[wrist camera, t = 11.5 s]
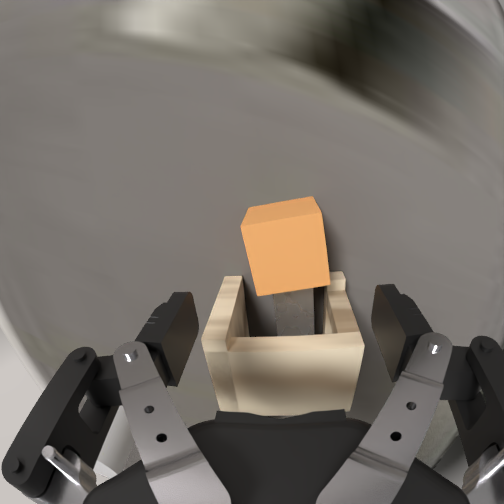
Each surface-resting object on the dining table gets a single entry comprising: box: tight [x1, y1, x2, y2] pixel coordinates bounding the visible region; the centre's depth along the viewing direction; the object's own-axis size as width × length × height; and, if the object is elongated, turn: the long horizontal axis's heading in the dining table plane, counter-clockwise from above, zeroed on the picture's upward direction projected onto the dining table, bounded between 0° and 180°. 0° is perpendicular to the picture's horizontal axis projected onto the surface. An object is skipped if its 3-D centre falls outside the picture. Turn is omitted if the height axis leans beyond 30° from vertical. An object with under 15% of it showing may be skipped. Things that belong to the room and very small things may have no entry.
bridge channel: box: [201, 271, 365, 416], centre depth 24 cm, size 23×10×8 cm, turn 5°
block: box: [241, 196, 331, 296], centre depth 20 cm, size 5×5×5 cm
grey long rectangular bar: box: [273, 288, 314, 337], centre depth 24 cm, size 12×3×4 cm, turn 8°
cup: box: [93, 406, 135, 479], centre depth 29 cm, size 8×8×12 cm
